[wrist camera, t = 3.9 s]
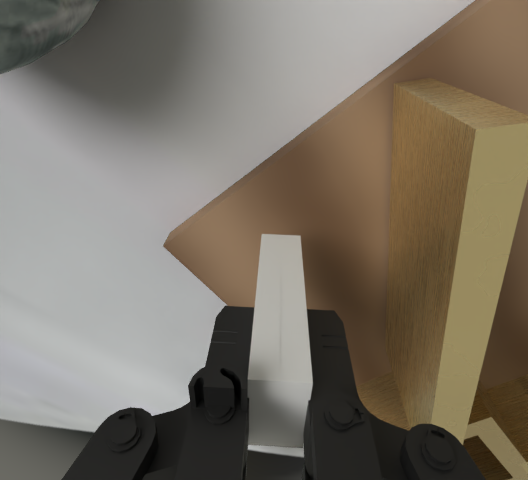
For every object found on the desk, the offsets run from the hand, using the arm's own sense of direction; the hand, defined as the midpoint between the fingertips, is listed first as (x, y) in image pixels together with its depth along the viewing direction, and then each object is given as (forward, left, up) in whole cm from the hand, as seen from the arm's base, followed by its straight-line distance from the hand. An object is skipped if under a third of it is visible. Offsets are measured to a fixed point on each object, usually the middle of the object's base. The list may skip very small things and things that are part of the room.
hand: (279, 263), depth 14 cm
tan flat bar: (-4, +3, -2) cm, 5 cm away
